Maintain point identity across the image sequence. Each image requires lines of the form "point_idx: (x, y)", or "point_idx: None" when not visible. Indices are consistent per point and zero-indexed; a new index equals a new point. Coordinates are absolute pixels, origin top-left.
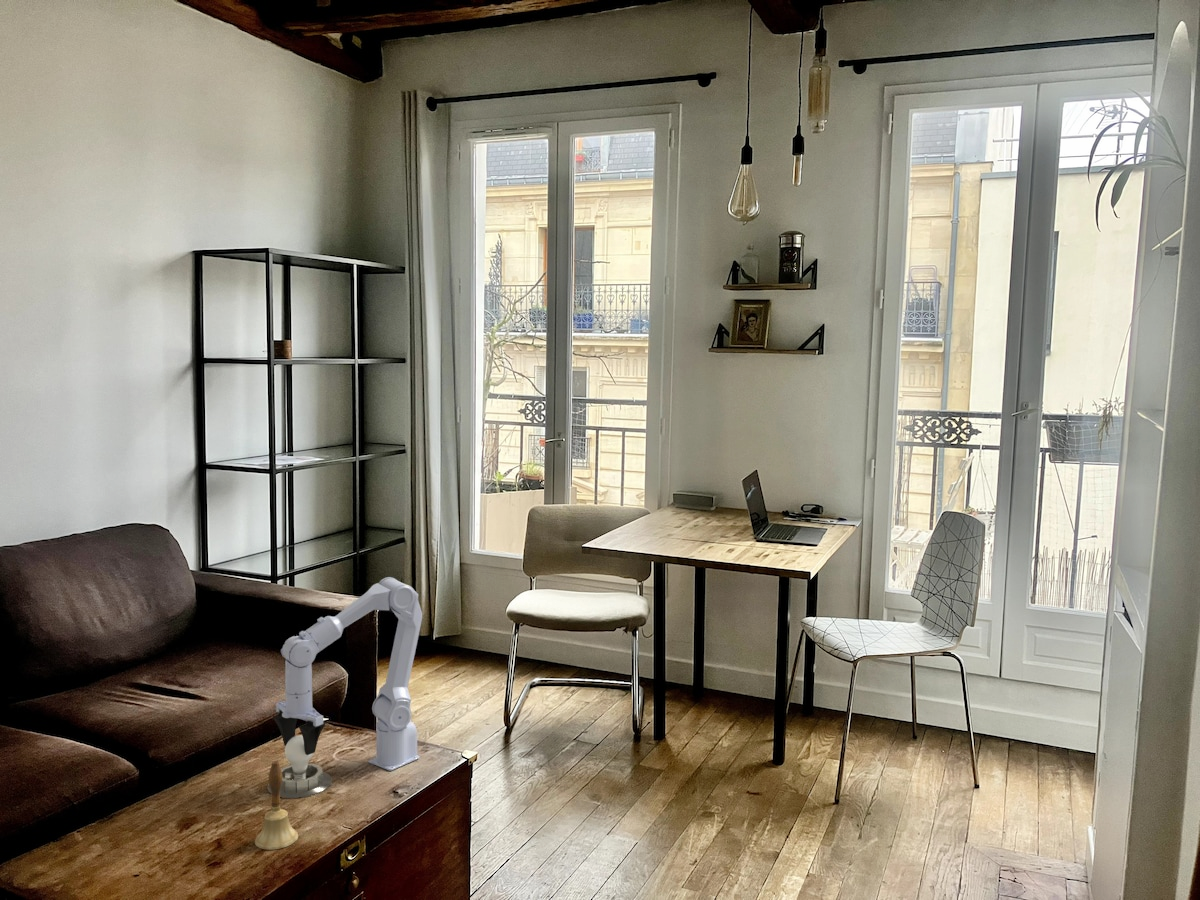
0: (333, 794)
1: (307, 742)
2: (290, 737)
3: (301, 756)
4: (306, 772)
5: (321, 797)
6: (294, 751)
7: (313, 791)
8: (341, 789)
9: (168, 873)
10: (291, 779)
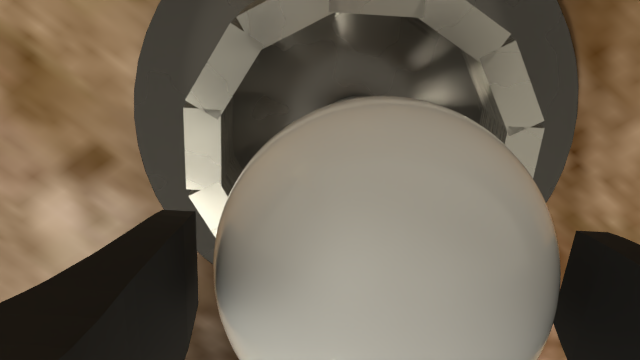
0: (52, 154)
1: (45, 291)
2: (607, 343)
3: (240, 174)
4: None
5: (70, 80)
6: (300, 148)
7: (169, 97)
8: (79, 227)
9: None
10: None
